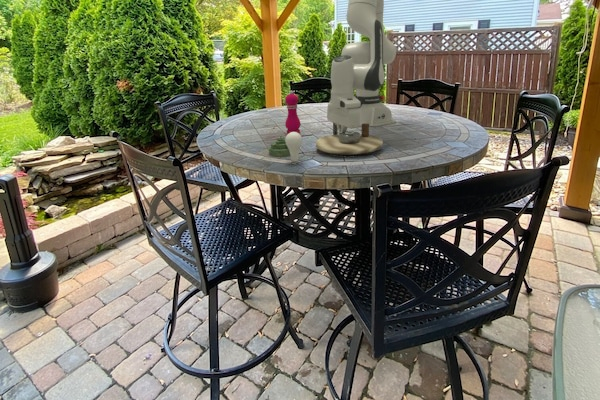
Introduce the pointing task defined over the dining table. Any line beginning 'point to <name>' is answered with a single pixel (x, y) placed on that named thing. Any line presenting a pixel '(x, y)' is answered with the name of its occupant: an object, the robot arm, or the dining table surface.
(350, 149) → the turntable
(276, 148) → the decorative artifact
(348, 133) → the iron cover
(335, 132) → the pointer
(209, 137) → the dining table surface
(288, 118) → the pepper mill
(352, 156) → the turntable base
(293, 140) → the lightbulb
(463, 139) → the dining table surface
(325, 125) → the dining table surface
